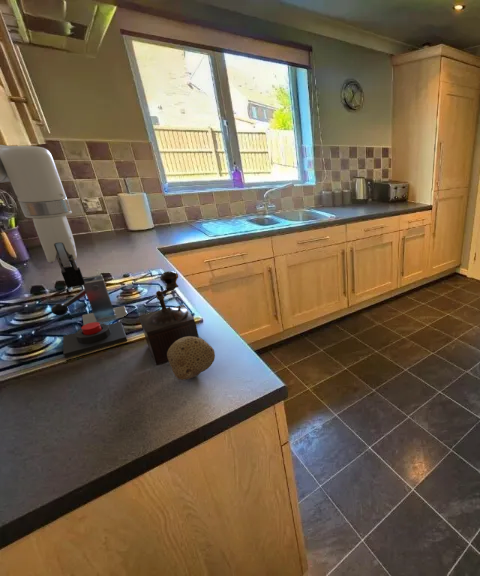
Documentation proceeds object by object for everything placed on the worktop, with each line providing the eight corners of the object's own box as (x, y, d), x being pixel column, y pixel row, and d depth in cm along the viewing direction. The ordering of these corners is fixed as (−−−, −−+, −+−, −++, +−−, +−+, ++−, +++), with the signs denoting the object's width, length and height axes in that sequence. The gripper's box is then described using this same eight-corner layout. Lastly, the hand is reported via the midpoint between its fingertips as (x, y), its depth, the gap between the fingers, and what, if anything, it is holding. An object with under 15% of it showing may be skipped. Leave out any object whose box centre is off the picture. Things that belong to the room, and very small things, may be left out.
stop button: (84, 337, 81) (81, 330, 81) (83, 330, 84) (80, 325, 83) (102, 332, 84) (100, 326, 83) (101, 326, 86) (99, 320, 85)
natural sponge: (217, 359, 81) (210, 325, 77) (218, 381, 74) (211, 344, 70) (174, 368, 78) (165, 332, 73) (172, 392, 70) (161, 354, 66)
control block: (66, 361, 78) (60, 347, 77) (66, 343, 85) (60, 329, 83) (128, 344, 86) (124, 330, 84) (123, 328, 92) (119, 315, 91)
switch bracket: (85, 330, 91) (68, 288, 85) (83, 318, 96) (68, 278, 91) (129, 319, 97) (116, 279, 92) (125, 308, 102) (113, 270, 97)
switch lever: (59, 319, 88) (47, 312, 86) (59, 314, 90) (47, 307, 88) (105, 287, 92) (94, 279, 90) (104, 283, 95) (93, 275, 92)
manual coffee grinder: (205, 349, 85) (192, 286, 78) (155, 366, 78) (135, 298, 71) (188, 325, 95) (175, 267, 88) (143, 338, 88) (124, 276, 81)
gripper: (24, 204, 74) (55, 279, 81) (19, 216, 64) (54, 300, 71) (69, 201, 78) (94, 272, 86) (70, 212, 68) (99, 291, 76)
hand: (76, 285), depth 78 cm, fingers closed
